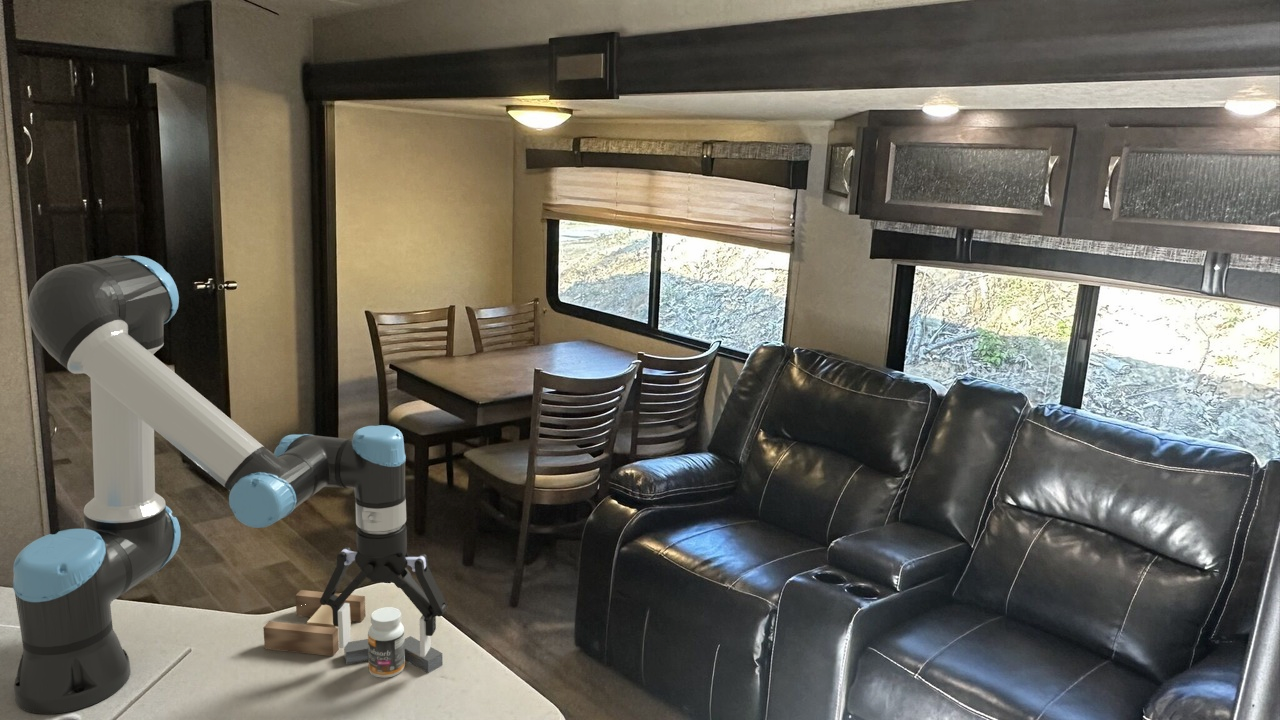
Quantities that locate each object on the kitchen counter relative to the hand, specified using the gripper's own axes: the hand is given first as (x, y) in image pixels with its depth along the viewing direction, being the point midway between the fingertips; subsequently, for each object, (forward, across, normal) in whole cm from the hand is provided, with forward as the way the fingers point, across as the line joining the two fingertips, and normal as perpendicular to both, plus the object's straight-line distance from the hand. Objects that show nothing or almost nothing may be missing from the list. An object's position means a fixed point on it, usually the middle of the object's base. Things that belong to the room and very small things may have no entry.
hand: (385, 648), depth 146 cm
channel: (+4, -16, +9) cm, 19 cm away
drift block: (+4, -14, +9) cm, 17 cm away
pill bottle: (+4, 0, 0) cm, 4 cm away
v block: (+4, 0, +4) cm, 6 cm away
